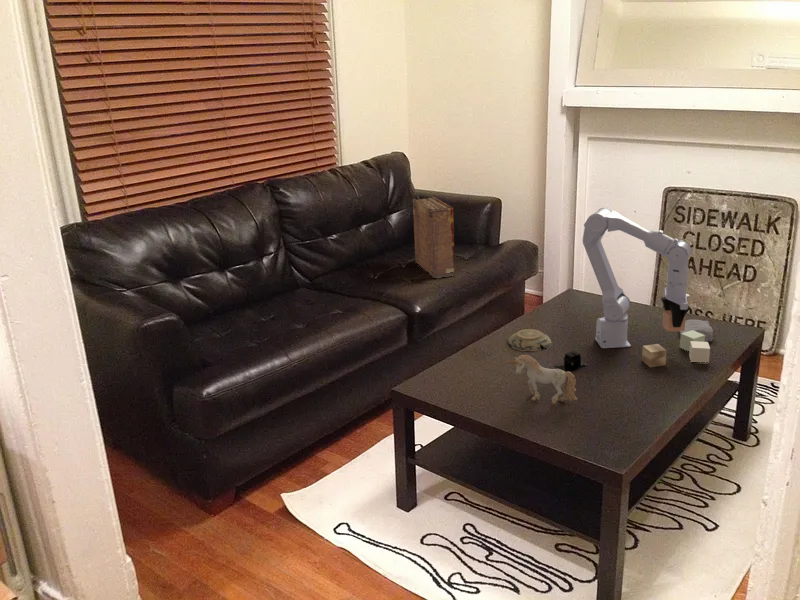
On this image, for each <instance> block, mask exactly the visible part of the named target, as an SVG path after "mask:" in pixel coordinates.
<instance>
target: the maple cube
mask: <svg viewBox="0 0 800 600" xmlns="http://www.w3.org/2000/svg"><path fill="white" fill-rule="evenodd" d="M641 362H642V363H644V364H645V365H647V366H648V367H649V368H655V367H663V366H666V362H667V349H666V348H665V347H663V346H662V345H660V344H659V343H656V344H655V343H654V344H647V345H642V352H641Z"/></svg>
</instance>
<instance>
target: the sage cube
mask: <svg viewBox="0 0 800 600" xmlns="http://www.w3.org/2000/svg"><path fill="white" fill-rule="evenodd" d="M690 341H698V342H706V341H705V335H703V334H701V333H698V332H696V331H693V330H691V331H688V332H684V333H681V335H680V340H679V349H681V348H682V349H681V350H683V349H684V351H686V350H687V351H686V352H688V351H689V350H690Z"/></svg>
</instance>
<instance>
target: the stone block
mask: <svg viewBox="0 0 800 600" xmlns="http://www.w3.org/2000/svg"><path fill="white" fill-rule="evenodd" d="M691 330H693V331H696V332H698V333H701V334H703V335H705V342H713V337H714V330H713V328H712V326H710V323H709V320H702V319H701V320H700V319H687V320H686V319H685V330H684V331H678V332H679V335H680V336H681V333H684V332H688V331H691Z"/></svg>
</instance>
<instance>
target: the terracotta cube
mask: <svg viewBox="0 0 800 600" xmlns="http://www.w3.org/2000/svg"><path fill="white" fill-rule="evenodd" d="M686 315H687V314H686ZM686 315H685V317H684V319H683V322H682V324H681V327H673V324H672V313H671V310H666V311H665V310H663V312H662V325H661V326H662V327H663V328H664V329H665V330H666V331H667V333H669V332H679V331H684V330H685V321H686V319H687V317H686Z"/></svg>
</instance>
